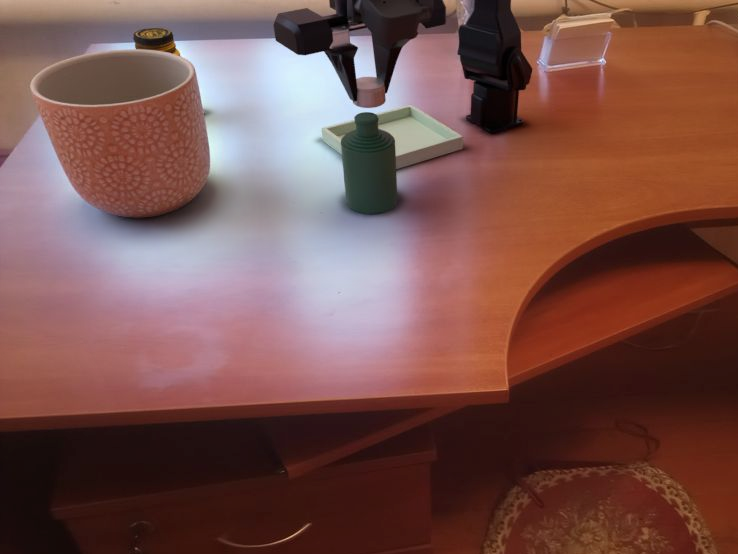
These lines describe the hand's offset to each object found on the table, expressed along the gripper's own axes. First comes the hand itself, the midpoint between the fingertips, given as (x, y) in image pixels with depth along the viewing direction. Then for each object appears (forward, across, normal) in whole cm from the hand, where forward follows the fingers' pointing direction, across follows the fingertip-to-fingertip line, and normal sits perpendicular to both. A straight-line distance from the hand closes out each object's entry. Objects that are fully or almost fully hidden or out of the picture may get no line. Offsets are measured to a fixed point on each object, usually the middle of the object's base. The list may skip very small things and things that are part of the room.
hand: (368, 96), depth 85 cm
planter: (+12, -24, +14) cm, 30 cm away
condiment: (+13, -14, +36) cm, 41 cm away
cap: (-1, 0, 0) cm, 1 cm away
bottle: (+12, -2, -2) cm, 13 cm away
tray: (+12, +9, +10) cm, 18 cm away
